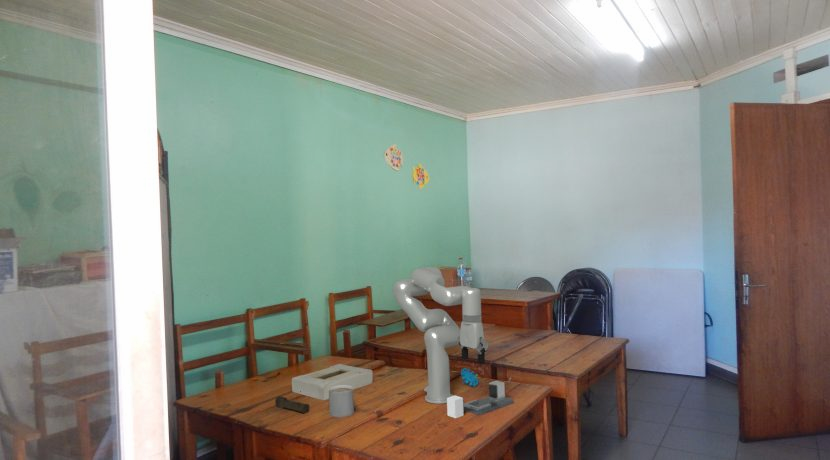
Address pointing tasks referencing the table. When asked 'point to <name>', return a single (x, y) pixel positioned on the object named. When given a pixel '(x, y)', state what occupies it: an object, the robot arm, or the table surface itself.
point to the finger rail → (489, 400)
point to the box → (331, 380)
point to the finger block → (455, 406)
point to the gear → (469, 377)
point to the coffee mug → (341, 401)
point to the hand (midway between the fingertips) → (473, 361)
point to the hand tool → (291, 405)
